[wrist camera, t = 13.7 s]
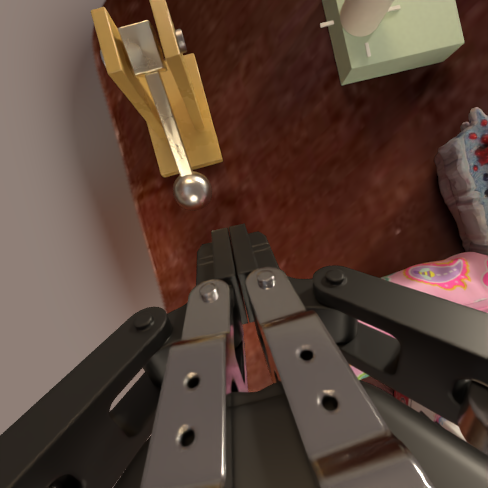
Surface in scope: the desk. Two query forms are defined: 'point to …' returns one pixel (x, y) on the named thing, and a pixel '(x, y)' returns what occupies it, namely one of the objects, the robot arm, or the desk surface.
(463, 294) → the pencil case
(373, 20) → the knob
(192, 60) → the bracket
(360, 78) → the panel
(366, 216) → the desk surface
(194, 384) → the robot arm
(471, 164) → the cell model
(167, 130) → the silver metal rod
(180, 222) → the desk surface
